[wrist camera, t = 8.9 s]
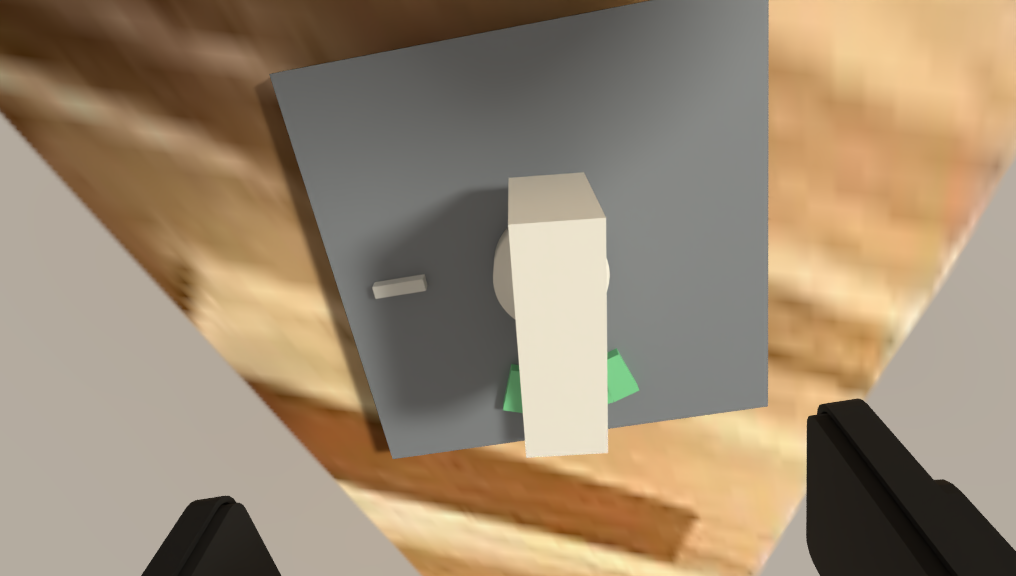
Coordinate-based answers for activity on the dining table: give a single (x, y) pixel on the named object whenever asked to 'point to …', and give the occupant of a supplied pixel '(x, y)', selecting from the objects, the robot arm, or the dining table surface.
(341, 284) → the dial board
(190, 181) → the dining table surface
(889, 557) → the robot arm
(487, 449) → the dining table surface
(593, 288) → the dial knob
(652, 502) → the dining table surface
